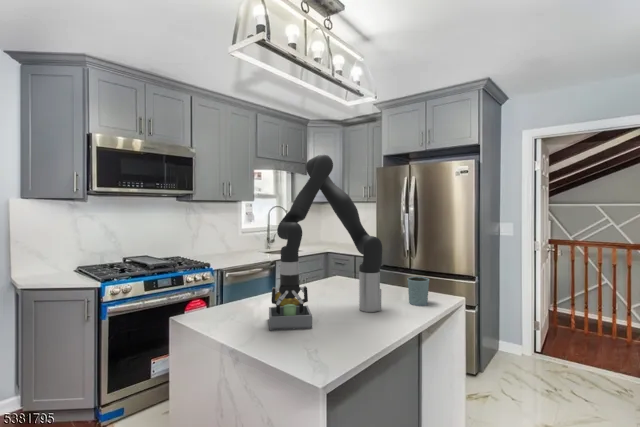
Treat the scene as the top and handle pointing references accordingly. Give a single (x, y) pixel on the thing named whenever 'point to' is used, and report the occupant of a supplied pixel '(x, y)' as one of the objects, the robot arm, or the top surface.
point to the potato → (286, 300)
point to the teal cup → (418, 290)
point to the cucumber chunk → (289, 310)
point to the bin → (290, 319)
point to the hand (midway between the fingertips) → (289, 313)
